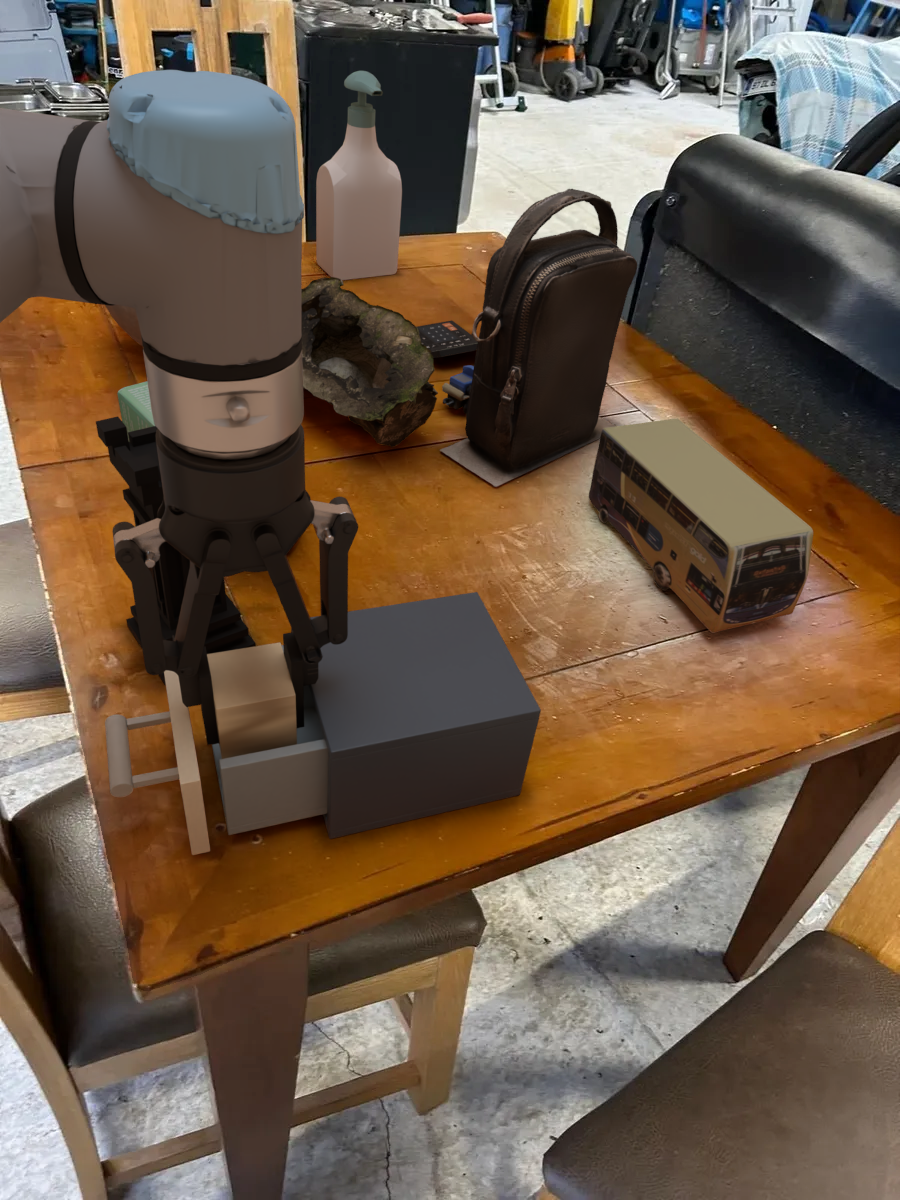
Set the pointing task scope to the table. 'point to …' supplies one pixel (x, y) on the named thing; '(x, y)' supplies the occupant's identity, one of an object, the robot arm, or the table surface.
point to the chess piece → (172, 568)
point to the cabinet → (421, 714)
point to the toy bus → (701, 523)
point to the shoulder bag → (544, 342)
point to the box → (135, 407)
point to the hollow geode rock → (365, 362)
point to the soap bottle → (358, 197)
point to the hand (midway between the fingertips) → (253, 720)
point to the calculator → (446, 339)
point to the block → (253, 700)
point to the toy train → (459, 389)
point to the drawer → (229, 772)
